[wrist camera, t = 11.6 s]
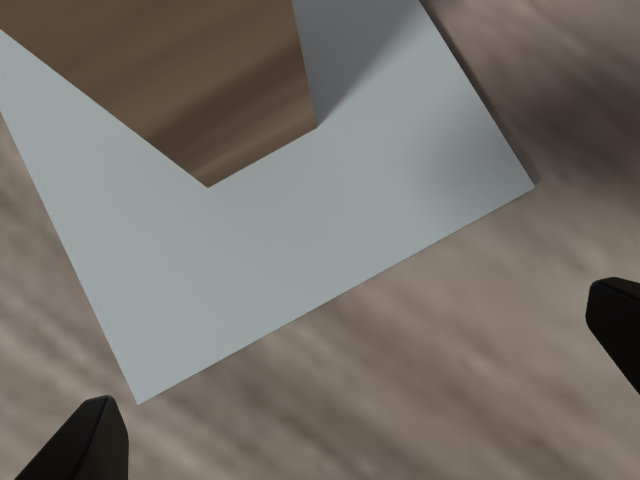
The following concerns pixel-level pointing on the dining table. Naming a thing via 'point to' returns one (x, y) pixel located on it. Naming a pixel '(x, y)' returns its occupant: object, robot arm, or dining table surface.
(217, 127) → the walnut block
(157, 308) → the mat
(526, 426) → the dining table surface
